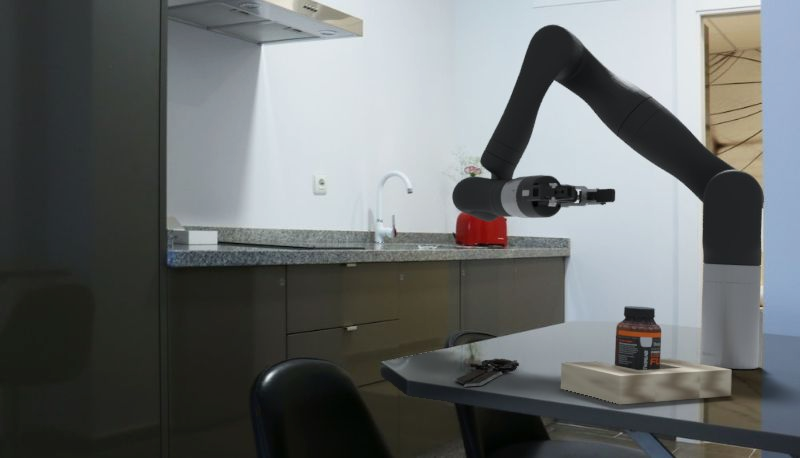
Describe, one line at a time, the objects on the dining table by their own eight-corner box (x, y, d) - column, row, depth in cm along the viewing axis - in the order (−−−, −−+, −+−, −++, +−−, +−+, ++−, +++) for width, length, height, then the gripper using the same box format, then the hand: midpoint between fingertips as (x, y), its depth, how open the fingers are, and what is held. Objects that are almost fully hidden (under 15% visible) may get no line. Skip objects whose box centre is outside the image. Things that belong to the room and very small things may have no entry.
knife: (474, 393, 109) (475, 382, 109) (429, 387, 112) (429, 376, 112) (530, 369, 132) (530, 360, 132) (491, 365, 135) (491, 356, 135)
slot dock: (668, 382, 121) (668, 358, 121) (730, 395, 112) (731, 369, 112) (560, 389, 112) (561, 362, 112) (619, 404, 102) (620, 375, 102)
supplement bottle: (658, 396, 109) (661, 309, 110) (611, 391, 111) (614, 306, 112) (660, 389, 115) (663, 307, 115) (616, 385, 117) (619, 304, 117)
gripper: (499, 172, 146) (560, 167, 132) (563, 178, 153) (627, 173, 139) (498, 215, 146) (559, 214, 132) (561, 219, 153) (625, 218, 139)
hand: (594, 193), depth 135 cm, fingers open, 8 cm apart
